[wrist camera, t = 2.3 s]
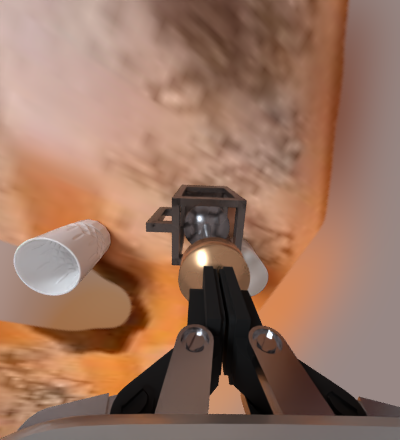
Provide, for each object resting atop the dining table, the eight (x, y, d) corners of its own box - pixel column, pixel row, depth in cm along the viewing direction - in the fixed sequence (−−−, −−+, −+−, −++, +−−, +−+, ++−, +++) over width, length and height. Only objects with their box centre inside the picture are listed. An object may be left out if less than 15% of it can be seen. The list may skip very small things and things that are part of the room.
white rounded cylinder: (219, 236, 33) (226, 258, 25) (253, 237, 33) (271, 259, 25) (217, 267, 35) (223, 296, 27) (250, 268, 35) (265, 297, 27)
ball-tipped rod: (184, 202, 21) (171, 239, 11) (230, 204, 22) (262, 242, 11) (183, 245, 23) (171, 314, 12) (226, 246, 23) (251, 316, 12)
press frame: (163, 184, 30) (140, 196, 18) (226, 186, 31) (246, 200, 18) (163, 227, 32) (143, 264, 20) (223, 229, 32) (239, 267, 20)
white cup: (123, 234, 33) (92, 264, 23) (99, 266, 34) (60, 306, 25) (83, 206, 31) (32, 224, 21) (59, 240, 33) (2, 272, 23)
